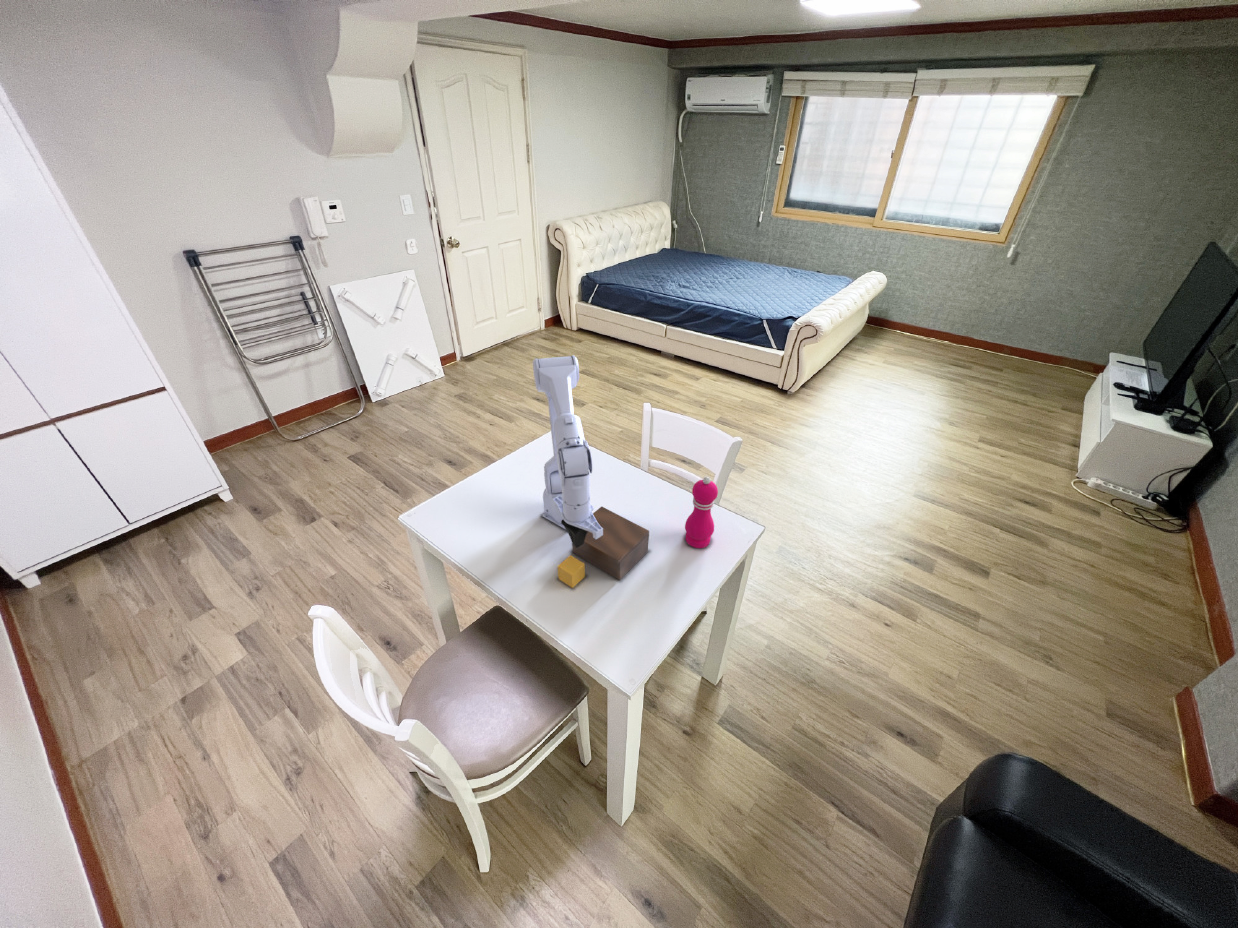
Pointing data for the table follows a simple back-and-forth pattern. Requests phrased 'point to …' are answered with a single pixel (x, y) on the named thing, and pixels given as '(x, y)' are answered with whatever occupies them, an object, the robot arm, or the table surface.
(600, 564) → the box
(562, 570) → the mustard block
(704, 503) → the pepper mill
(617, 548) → the box lid
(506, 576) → the table surface
